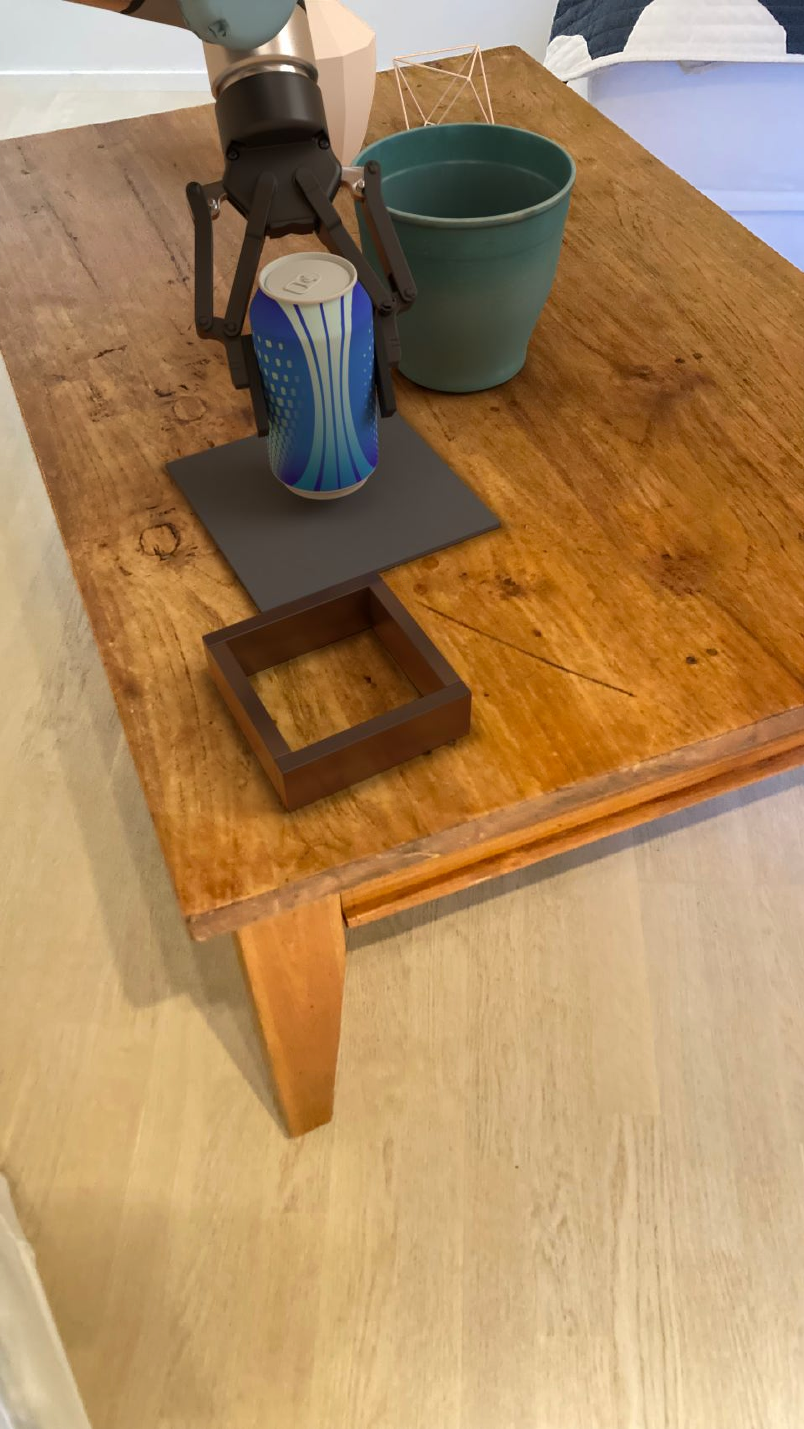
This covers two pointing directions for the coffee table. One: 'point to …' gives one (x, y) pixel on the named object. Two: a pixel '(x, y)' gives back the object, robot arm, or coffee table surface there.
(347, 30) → the vase
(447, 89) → the geometric polyhedron
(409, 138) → the flower pot
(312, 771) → the can holder
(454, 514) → the rubber mat
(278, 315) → the beer can
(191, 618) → the coffee table surface
